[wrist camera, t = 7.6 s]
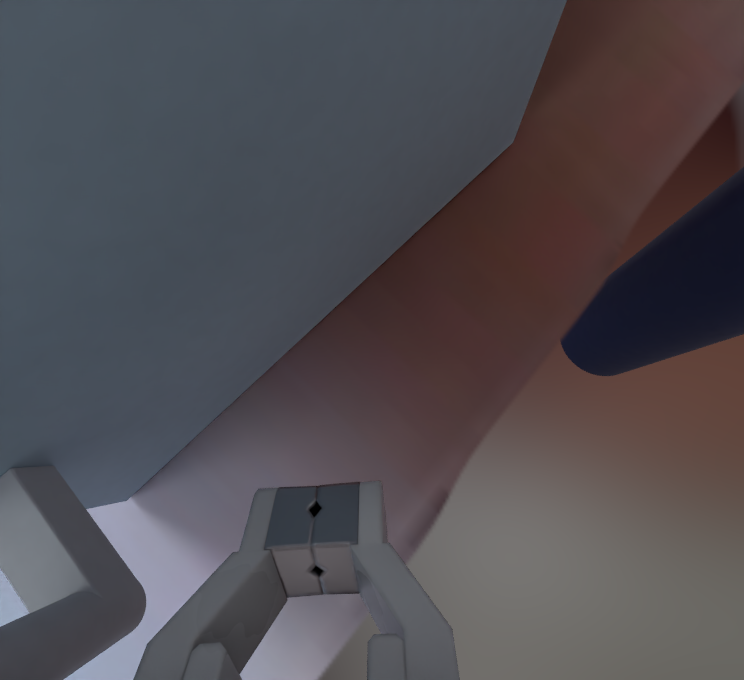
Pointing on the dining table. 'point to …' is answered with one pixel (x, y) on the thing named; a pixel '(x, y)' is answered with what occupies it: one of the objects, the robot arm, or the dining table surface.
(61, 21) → the cupboard door
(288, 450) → the dining table surface
